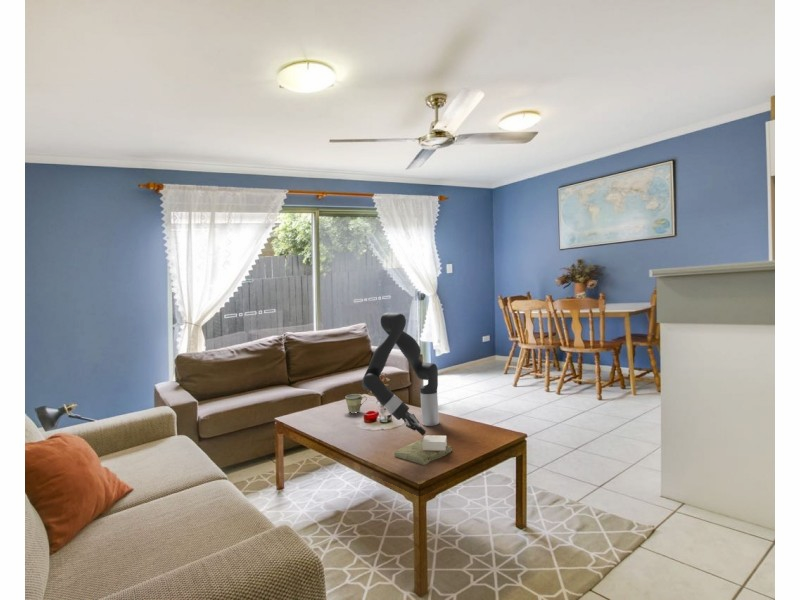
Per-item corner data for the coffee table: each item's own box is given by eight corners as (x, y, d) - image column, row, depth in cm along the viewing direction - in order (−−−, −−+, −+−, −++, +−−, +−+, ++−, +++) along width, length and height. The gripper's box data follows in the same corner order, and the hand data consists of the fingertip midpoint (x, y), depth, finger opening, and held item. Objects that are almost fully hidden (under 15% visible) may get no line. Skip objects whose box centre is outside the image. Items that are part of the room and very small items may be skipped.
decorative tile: (393, 457, 197) (393, 450, 197) (422, 444, 212) (421, 437, 212) (426, 468, 185) (426, 459, 185) (454, 452, 200) (453, 445, 199)
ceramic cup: (345, 414, 265) (344, 398, 265) (347, 410, 275) (346, 394, 275) (366, 413, 265) (366, 397, 265) (367, 409, 275) (367, 393, 275)
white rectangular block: (424, 435, 202) (446, 435, 201) (425, 444, 203) (446, 444, 201) (422, 441, 195) (445, 442, 193) (422, 450, 195) (445, 451, 193)
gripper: (399, 405, 193) (428, 432, 191) (403, 397, 206) (431, 423, 205) (388, 417, 194) (417, 444, 192) (393, 408, 207) (420, 434, 206)
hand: (424, 433), depth 199 cm, fingers closed
